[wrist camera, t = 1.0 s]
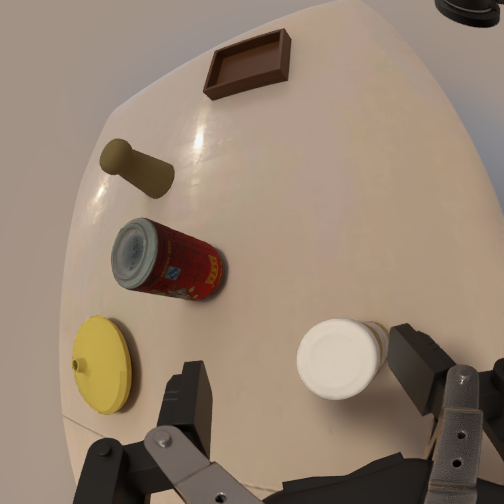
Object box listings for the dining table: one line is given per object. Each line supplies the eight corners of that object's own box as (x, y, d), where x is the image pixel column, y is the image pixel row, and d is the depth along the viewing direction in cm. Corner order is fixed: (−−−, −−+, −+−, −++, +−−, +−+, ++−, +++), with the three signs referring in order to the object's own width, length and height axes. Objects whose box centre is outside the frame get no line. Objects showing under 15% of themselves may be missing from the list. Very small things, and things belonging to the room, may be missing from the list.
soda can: (183, 304, 38) (103, 290, 28) (184, 250, 40) (109, 223, 30) (229, 300, 35) (149, 284, 25) (229, 240, 37) (154, 206, 27)
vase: (158, 372, 38) (117, 375, 32) (116, 430, 40) (81, 435, 34) (112, 297, 46) (76, 290, 40) (80, 359, 48) (47, 357, 42)
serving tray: (291, 38, 40) (284, 27, 38) (287, 80, 38) (279, 68, 36) (223, 59, 47) (214, 50, 45) (212, 100, 45) (202, 91, 43)
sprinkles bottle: (345, 368, 27) (292, 399, 16) (346, 321, 28) (294, 318, 17) (392, 367, 25) (374, 402, 13) (393, 319, 26) (377, 315, 14)
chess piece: (143, 182, 48) (91, 156, 39) (167, 156, 47) (116, 125, 38) (153, 206, 46) (96, 180, 36) (179, 178, 44) (123, 146, 35)
